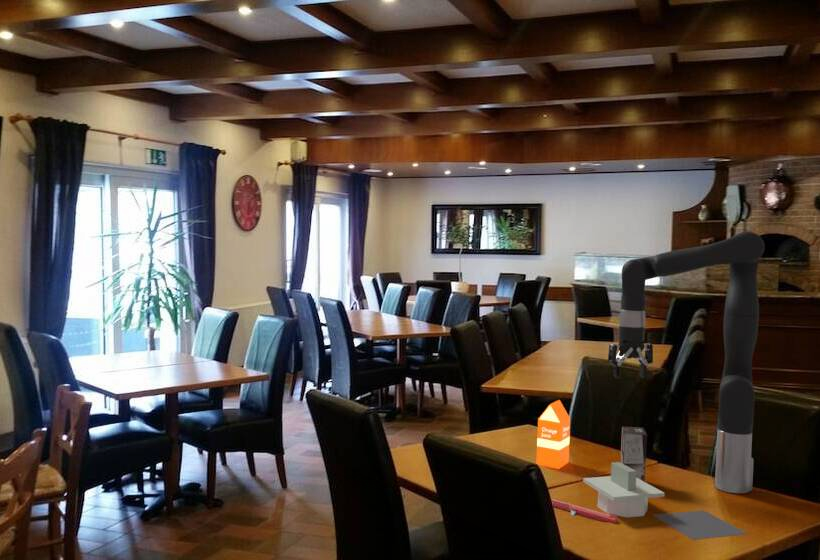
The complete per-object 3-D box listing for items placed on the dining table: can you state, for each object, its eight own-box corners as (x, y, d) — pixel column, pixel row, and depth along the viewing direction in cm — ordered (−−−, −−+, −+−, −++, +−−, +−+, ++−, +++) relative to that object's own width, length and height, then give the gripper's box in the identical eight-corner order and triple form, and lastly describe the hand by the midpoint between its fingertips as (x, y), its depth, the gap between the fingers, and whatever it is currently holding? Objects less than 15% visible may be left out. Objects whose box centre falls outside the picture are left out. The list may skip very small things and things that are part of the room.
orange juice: (568, 462, 233) (571, 401, 232) (559, 469, 226) (561, 405, 225) (546, 457, 237) (548, 397, 236) (535, 464, 230) (538, 402, 229)
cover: (630, 478, 201) (631, 457, 201) (664, 496, 187) (665, 473, 187) (583, 481, 197) (584, 460, 197) (613, 501, 183) (614, 477, 182)
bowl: (628, 500, 200) (629, 480, 199) (655, 516, 188) (656, 495, 188) (590, 503, 196) (591, 483, 196) (615, 519, 185) (615, 498, 184)
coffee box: (645, 490, 208) (647, 434, 208) (622, 487, 210) (624, 433, 209) (641, 480, 217) (644, 427, 217) (619, 478, 219) (621, 425, 218)
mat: (703, 511, 192) (703, 510, 192) (747, 535, 177) (747, 533, 177) (652, 516, 188) (652, 514, 188) (692, 541, 172) (692, 539, 172)
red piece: (612, 530, 180) (620, 520, 184) (611, 523, 180) (619, 513, 183) (528, 506, 196) (537, 497, 199) (527, 499, 195) (536, 490, 199)
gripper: (644, 323, 225) (642, 374, 226) (604, 323, 221) (602, 376, 222) (659, 326, 218) (657, 379, 219) (618, 326, 214) (616, 380, 215)
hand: (629, 377), depth 221 cm, fingers open, 8 cm apart
